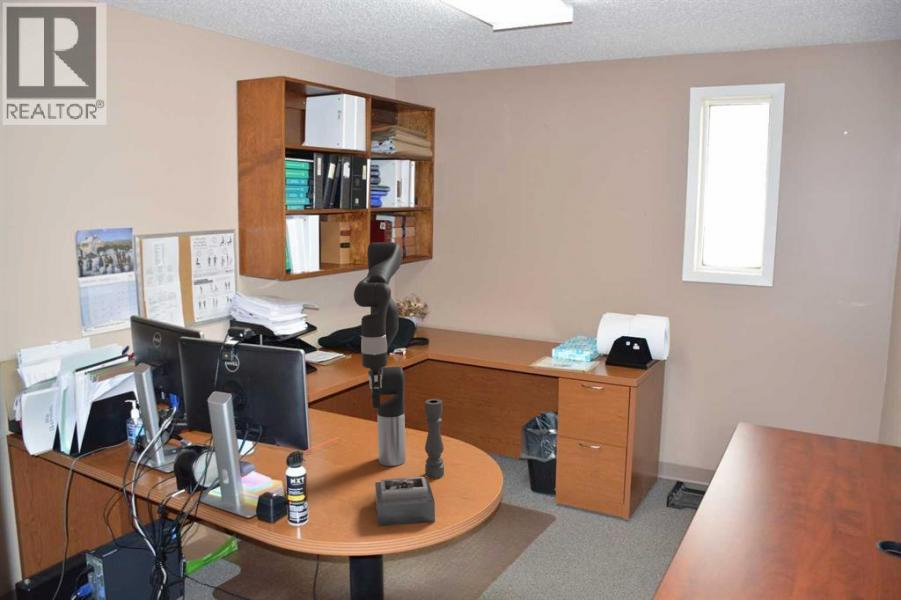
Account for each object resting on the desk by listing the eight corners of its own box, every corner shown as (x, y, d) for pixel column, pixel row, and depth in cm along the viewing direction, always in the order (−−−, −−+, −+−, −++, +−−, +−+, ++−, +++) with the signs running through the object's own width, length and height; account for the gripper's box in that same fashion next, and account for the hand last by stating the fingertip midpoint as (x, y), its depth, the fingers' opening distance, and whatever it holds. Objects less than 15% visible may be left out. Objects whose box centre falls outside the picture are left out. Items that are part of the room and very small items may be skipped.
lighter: (418, 510, 207) (418, 478, 206) (417, 515, 204) (416, 483, 202) (391, 509, 208) (390, 477, 206) (389, 515, 205) (388, 482, 203)
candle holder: (441, 479, 229) (441, 405, 224) (423, 478, 230) (422, 404, 226) (445, 471, 235) (445, 399, 230) (427, 470, 236) (426, 398, 232)
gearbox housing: (375, 501, 214) (374, 474, 212) (428, 497, 216) (427, 470, 215) (378, 526, 198) (377, 497, 197) (434, 521, 200) (434, 493, 199)
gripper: (360, 345, 214) (362, 396, 217) (362, 356, 200) (363, 411, 203) (385, 344, 215) (387, 395, 218) (388, 355, 202) (390, 410, 204)
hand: (375, 403), depth 211 cm, fingers open, 8 cm apart
